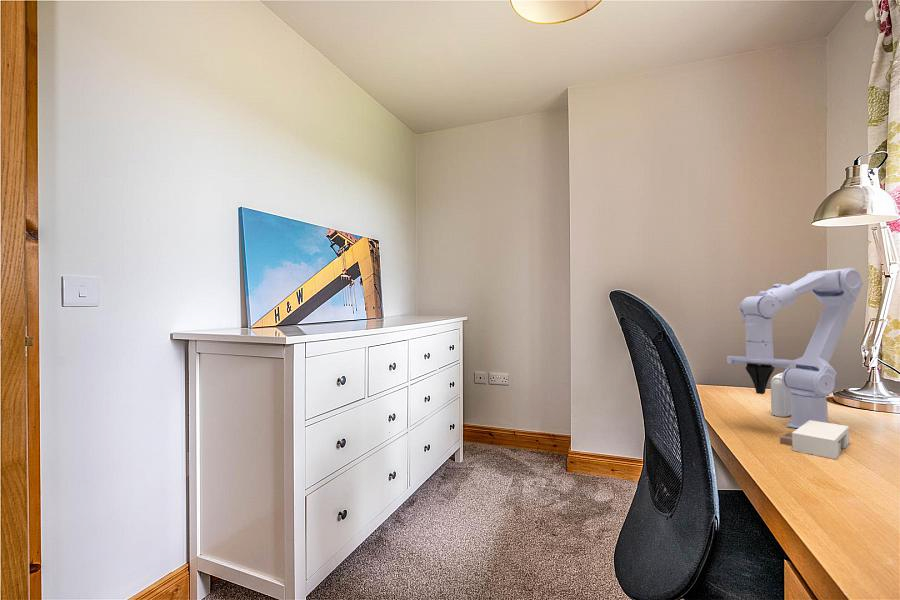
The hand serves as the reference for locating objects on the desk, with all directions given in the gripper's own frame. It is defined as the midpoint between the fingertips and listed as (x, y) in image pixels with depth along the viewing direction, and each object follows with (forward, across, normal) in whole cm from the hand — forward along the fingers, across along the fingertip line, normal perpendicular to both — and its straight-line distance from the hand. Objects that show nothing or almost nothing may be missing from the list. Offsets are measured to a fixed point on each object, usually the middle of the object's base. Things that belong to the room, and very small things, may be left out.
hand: (760, 393), depth 109 cm
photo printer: (+10, -1, +25) cm, 27 cm away
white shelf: (+10, +12, -4) cm, 16 cm away
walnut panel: (+10, +10, -5) cm, 15 cm away
